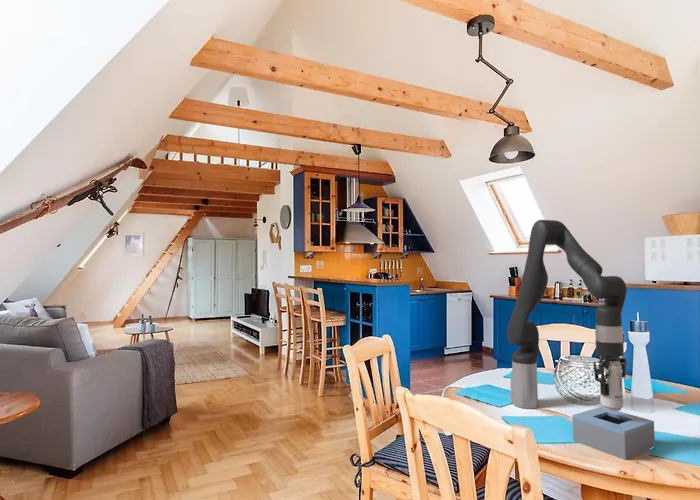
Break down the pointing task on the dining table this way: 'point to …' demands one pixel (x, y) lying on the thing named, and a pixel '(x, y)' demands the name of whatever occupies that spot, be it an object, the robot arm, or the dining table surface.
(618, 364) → the energy drink can
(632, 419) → the box
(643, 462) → the dining table surface
